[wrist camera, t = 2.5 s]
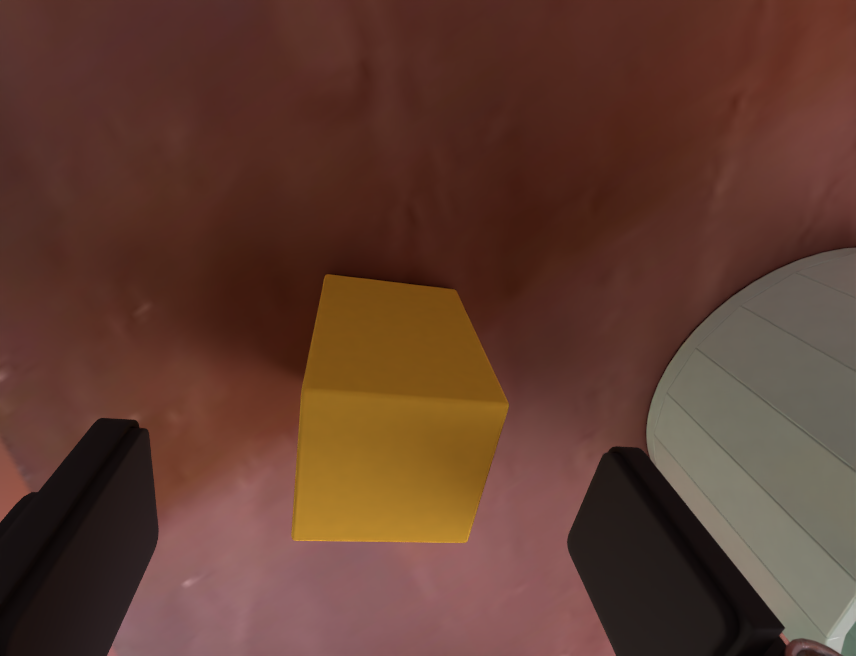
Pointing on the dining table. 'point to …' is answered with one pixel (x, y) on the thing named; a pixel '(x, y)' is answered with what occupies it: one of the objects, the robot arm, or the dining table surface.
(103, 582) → the robot arm
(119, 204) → the dining table surface
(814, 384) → the mint faceted tub
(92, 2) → the dining table surface
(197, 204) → the dining table surface
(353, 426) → the yellow block
